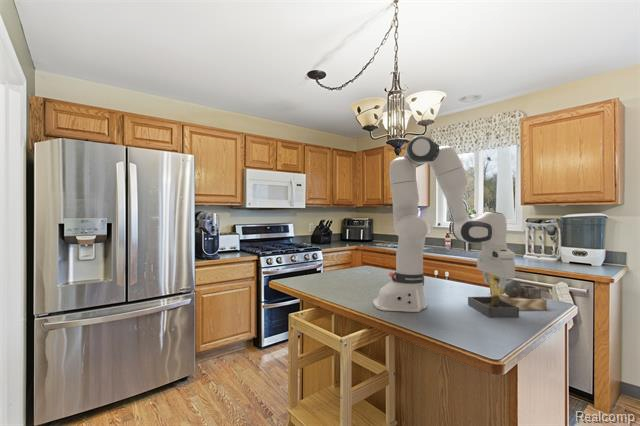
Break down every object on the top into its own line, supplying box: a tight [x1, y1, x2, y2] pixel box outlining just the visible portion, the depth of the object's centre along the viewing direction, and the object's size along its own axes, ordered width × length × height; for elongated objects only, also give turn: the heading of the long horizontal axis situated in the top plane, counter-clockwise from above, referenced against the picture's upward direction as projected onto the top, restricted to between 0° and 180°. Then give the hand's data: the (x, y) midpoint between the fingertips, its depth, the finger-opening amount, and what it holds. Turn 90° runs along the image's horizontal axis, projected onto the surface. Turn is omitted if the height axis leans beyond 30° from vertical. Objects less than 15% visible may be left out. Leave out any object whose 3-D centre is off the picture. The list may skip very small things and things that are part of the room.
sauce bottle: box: [489, 274, 505, 296], centre depth 149 cm, size 6×6×20 cm
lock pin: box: [490, 278, 501, 308], centre depth 126 cm, size 3×3×12 cm
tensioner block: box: [500, 279, 548, 311], centre depth 132 cm, size 14×10×11 cm
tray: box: [467, 295, 520, 318], centre depth 127 cm, size 16×12×4 cm
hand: (494, 285), depth 127 cm, fingers open, 8 cm apart
